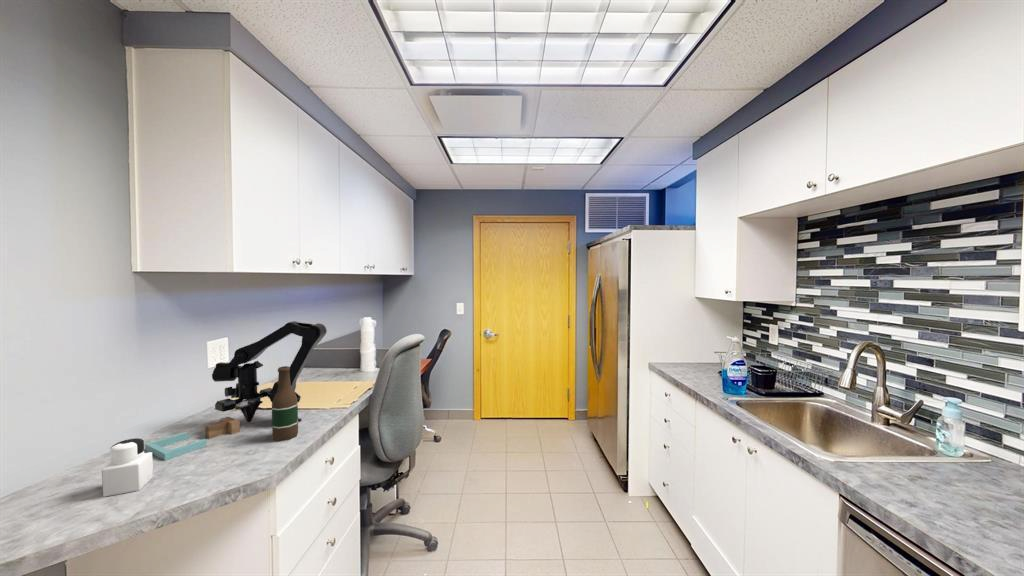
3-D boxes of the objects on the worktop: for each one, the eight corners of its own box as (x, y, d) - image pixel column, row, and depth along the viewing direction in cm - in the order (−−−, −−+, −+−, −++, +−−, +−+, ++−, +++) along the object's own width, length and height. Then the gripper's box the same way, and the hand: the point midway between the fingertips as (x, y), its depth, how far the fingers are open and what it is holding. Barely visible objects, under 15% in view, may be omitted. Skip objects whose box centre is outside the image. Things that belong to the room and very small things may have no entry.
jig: (207, 446, 120) (206, 440, 120) (165, 460, 111) (164, 453, 111) (186, 437, 127) (186, 431, 127) (145, 450, 118) (144, 443, 117)
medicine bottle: (118, 483, 99) (117, 438, 98) (153, 477, 101) (152, 433, 101) (102, 497, 92) (100, 450, 92) (140, 490, 95) (138, 444, 95)
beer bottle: (269, 437, 126) (267, 367, 126) (294, 430, 132) (292, 363, 131) (276, 444, 121) (274, 371, 120) (302, 436, 127) (300, 366, 126)
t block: (201, 435, 128) (201, 424, 128) (228, 427, 135) (227, 416, 135) (213, 440, 124) (212, 428, 124) (239, 431, 131) (239, 420, 131)
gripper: (262, 371, 149) (263, 410, 149) (206, 383, 132) (208, 427, 133) (278, 375, 144) (279, 414, 144) (222, 388, 127) (224, 432, 128)
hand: (248, 421), depth 137 cm, fingers closed
